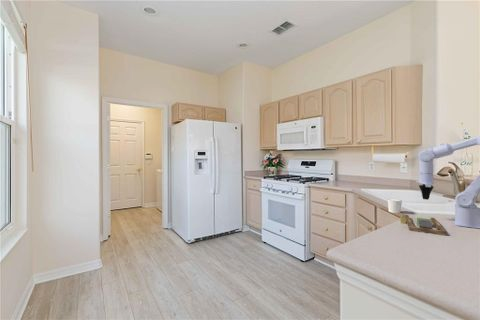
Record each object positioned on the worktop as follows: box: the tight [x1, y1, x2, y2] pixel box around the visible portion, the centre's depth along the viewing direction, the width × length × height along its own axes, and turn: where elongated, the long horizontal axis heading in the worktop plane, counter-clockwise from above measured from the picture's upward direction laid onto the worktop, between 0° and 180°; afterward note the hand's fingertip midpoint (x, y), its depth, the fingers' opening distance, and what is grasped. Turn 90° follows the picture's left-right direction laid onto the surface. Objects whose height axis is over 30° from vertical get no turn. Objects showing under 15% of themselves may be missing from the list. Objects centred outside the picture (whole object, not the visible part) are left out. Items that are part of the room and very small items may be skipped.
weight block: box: [418, 220, 433, 229], centre depth 99 cm, size 4×4×4 cm
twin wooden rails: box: [405, 214, 447, 236], centre depth 105 cm, size 12×24×2 cm, turn 148°
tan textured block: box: [399, 213, 407, 225], centre depth 110 cm, size 2×3×4 cm, turn 148°
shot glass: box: [387, 198, 403, 214], centre depth 130 cm, size 7×7×7 cm
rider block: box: [414, 214, 431, 227], centre depth 106 cm, size 5×5×4 cm
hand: (425, 199), depth 117 cm, fingers closed
